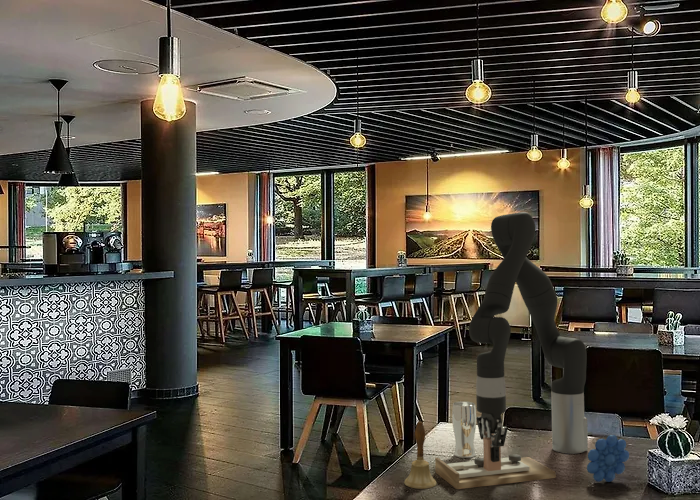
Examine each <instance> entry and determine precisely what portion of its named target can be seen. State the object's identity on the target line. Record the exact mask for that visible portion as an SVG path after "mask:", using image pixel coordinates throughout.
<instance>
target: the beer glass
mask: <svg viewBox="0 0 700 500" xmlns="http://www.w3.org/2000/svg"><path fill="white" fill-rule="evenodd" d="M451 408H452V410H451V412H452V413H451V417H452V418H451V419H452V420H451V422H452V429H453V433H454V434H453V435H454V442H455V444H454V445H455V446H454V447H455V448H454V452H453V453H454V456H455V457H457V458H460V459H469V458H474V457H476V450H475V444H474V443H475V442H474V441H475V436H476V435H475V433H476V428H477V419H476V418H477V407H476V403H475V402H473V401H468V400H467V401H464V400H463V401H462V400H461V401H454V402H453V403H452V407H451Z"/></svg>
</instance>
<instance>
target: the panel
mask: <svg viewBox="0 0 700 500" xmlns="http://www.w3.org/2000/svg"><path fill="white" fill-rule="evenodd" d="M493 440H494V439H493ZM500 441H501V440H500ZM482 443H483V445H482V446H483V458H484V465H483V467H481V468H478V465H476V464H475V463H474V460H472V461H462V462H453V463H452V462H451V463H446V464H447V465H448V466H450V467H451V468H453V469H454V470H455V471H456V470H459V469H464V470H463V471H457V472H458V473H459V478H466V477H475V476H484V475H493V474H502V473H511V472H520V471H529V470H530V467H529V466H528V465H526V464H524V463H523V462H521V461H518V464H512V461H510V460H509V456H507V457H502V452H501V450H502V449H501V447H502V446H501V447H499V458H500V460H499V461H498V462H492V461H491V453H490V447H491V446H490V438H488V437H484V438H483V439H482Z"/></svg>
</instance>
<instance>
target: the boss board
mask: <svg viewBox="0 0 700 500" xmlns="http://www.w3.org/2000/svg"><path fill="white" fill-rule="evenodd" d="M508 457H509V460H510V461H512V464H518V461H521V462H523V463H524V464H526V465H528V466H529V467H530V470H529V471H520V472H511V473H502V474H493V475H484V476H475V477H466V478H459V473H458V472H457V471H463V470H464V469H459V470H456V471H455V470H454V469H453V468H451V467H450V466H448V465H447V464H448V463H446V462H444V460H442V459H441V458H439V457H435V458H434V462H435V463H434V464H435V465H434V466H435V469H434V471H435V473H436V474H437V475H438V476H440V477H441V478H442V479H443V480H445V482H447V483H448V484H449V485H451V487H453V488H454V489H455V490H461V489H462V490H463V489H471V488H477V487H478V488H480V487H487V486H489V487H490V486H497V485H504V484H505V485H506V484H513V483H515V484H516V483H520V482H521V483H522V482H524V483H525V482H530V481H531V482H532V481H539V480H548V479H556V478H557V474H556V473H557V472H556V471H555V470H553V469H551V468H549V467H547V466H546V465H544V464H542V463H541V462H539V461H537V460H535V459H534V458H531V457H530V456H523V457H522V456H521V455H520V454H516V453H515V454H514V453H513V454H509V455H508ZM473 461H474V463H475V464H476V465H478V468H481V467H483V465H484V457H475V458H474V460H473Z"/></svg>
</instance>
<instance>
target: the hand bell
mask: <svg viewBox="0 0 700 500" xmlns="http://www.w3.org/2000/svg"><path fill="white" fill-rule="evenodd" d="M414 438H415V439H414V440H415V442H416V445H417V446H416V447H417V448H416V449H417V450H416V459H415V460H413V461H412V462H411V465H410V470H409V471H410V473H409V474H408V476H407V477H406V478H405V480H404V482H403V483H404V486H406V487H409V488H411V489H418V490H425V489H431V488H434V487H435V486H437V481H436V479H435V478H434V477H433V476H432V474H431V469H430V463H429V462H428V461H426V460H425V459H424V446H425V445H424V444H425V441H426V430H425V426H424V423H423V421H421V420H419V421H417V424H416V427H415V431H414Z"/></svg>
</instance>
